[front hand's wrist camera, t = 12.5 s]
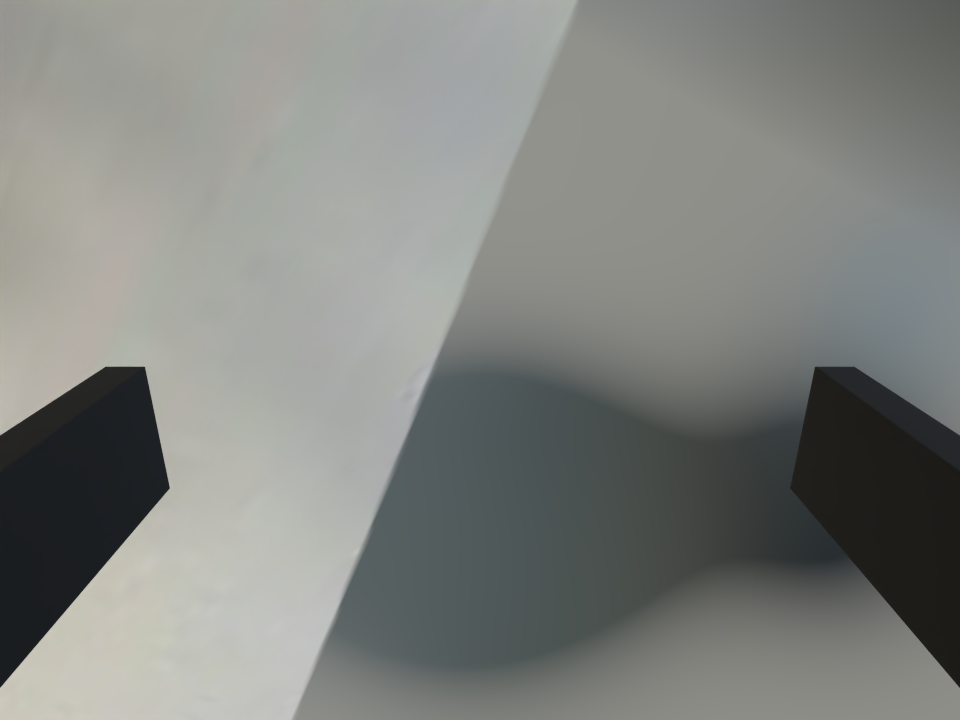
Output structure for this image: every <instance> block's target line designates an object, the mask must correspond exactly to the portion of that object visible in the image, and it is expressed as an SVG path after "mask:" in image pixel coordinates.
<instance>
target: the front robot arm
mask: <svg viewBox="0 0 960 720" xmlns="http://www.w3.org/2000/svg"><path fill="white" fill-rule="evenodd" d="M169 488H170V487H169V482H168V477H167V473H166V468H165V463H164V458H163V453H162V448H161V443H160V438H159V434H158V429H157V424H156V419H155V414H154V409H153V404H152V399H151V394H150V390H149V385H148V380H147V375H146V370H145V367H105V368H103V369H102V370H100V371H99V372H97V373H95V374H94V375H92V376H91V377H89V378H88V379H86V380H85V381H83V382H82V383H80V384H79V385H77V386H76V387H74V388H72V389H71V390H69V391H68V392H66V393H65V394H63V395H62V396H60V397H59V398H57V399H56V400H54V401H53V402H51V403H49V404H48V405H46V406H45V407H43V408H42V409H40V410H39V411H37V412H36V413H34V414H33V415H31V416H29V417H28V418H26V419H25V420H23V421H22V422H20V423H19V424H17V425H16V426H14V427H13V428H11V429H10V430H8V431H6V432H5V433H3V434H2V435H0V687H1V686H2V685H3V684H4V683H5V681H6V680H7V679H8V678H9V677H10V676H11V674H12V673H13V672H14V671H15V670H16V668H17V667H18V666H19V665H20V664H21V663H22V661H23V660H24V659H25V658H26V657H27V656H28V654H29V653H30V652H31V651H32V650H33V648H34V647H35V646H36V645H37V644H38V643H39V641H40V640H41V639H42V638H43V637H44V636H45V634H46V633H47V632H48V631H49V630H50V628H51V627H52V626H53V625H54V624H55V623H56V621H57V620H58V619H59V618H60V617H61V616H62V614H63V613H64V612H65V611H66V610H67V608H68V607H69V606H70V605H71V604H72V603H73V601H74V600H75V599H76V598H77V597H78V596H79V594H80V593H81V592H82V591H83V590H84V588H85V587H86V586H87V585H88V584H89V583H90V581H91V580H92V579H93V578H94V577H95V576H96V574H97V573H98V572H99V571H100V570H101V568H102V567H103V566H104V565H105V564H106V563H107V561H108V560H109V559H110V558H111V557H112V556H113V554H114V553H115V552H116V551H117V550H118V548H119V547H120V546H121V545H122V544H123V543H124V541H125V540H126V539H127V538H128V537H129V536H130V534H131V533H132V532H133V531H134V530H135V528H136V527H137V526H138V525H139V524H140V523H141V521H142V520H143V519H144V518H145V517H146V516H147V514H148V513H149V512H150V511H151V510H152V508H153V507H154V506H155V505H156V504H157V503H158V501H159V500H160V499H161V498H162V497H163V495H164V494H165V493H166V492H167V491H168V490H169ZM790 488H791V490H792V491H793V492H794V493H795V494H796V495H797V497H798V498H799V499H800V500H801V501H802V503H803V504H804V505H805V506H806V507H807V508H808V510H809V511H810V512H811V513H812V514H813V515H814V517H815V518H816V519H817V520H818V521H819V523H820V524H821V525H822V526H823V527H824V528H825V530H826V531H827V532H828V533H829V534H830V535H831V537H832V538H833V539H834V540H835V541H836V542H837V544H838V545H839V546H840V547H841V548H842V550H843V551H844V552H845V553H846V554H847V556H848V557H849V558H850V559H851V560H852V561H853V563H854V564H855V565H856V566H857V567H858V568H859V570H860V571H861V572H862V573H863V574H864V575H865V577H866V578H867V579H868V580H869V581H870V583H871V584H872V585H873V586H874V587H875V588H876V590H877V591H878V592H879V593H880V594H881V595H882V597H883V598H884V599H885V600H886V601H887V603H888V604H889V605H890V606H891V607H892V608H893V610H894V611H895V612H896V613H897V614H898V616H899V617H900V618H901V619H902V620H903V621H904V623H905V624H906V625H907V626H908V627H909V628H910V630H911V631H912V632H913V633H914V634H915V635H916V637H917V638H918V639H919V640H920V641H921V643H922V644H923V645H924V646H925V647H926V648H927V650H928V651H929V652H930V653H931V654H932V655H933V657H934V658H935V659H936V660H937V661H938V663H939V664H940V665H941V666H942V667H943V668H944V670H945V671H946V672H947V673H948V674H949V676H950V677H951V678H952V679H953V680H954V681H955V683H956V684H957V685H958V686H959V687H960V435H958V434H957V433H955V432H954V431H952V430H950V429H949V428H947V427H946V426H944V425H943V424H941V423H940V422H938V421H937V420H935V419H934V418H932V417H931V416H929V415H927V414H926V413H924V412H923V411H921V410H920V409H918V408H917V407H915V406H914V405H912V404H911V403H909V402H907V401H906V400H904V399H903V398H901V397H900V396H898V395H897V394H895V393H894V392H892V391H891V390H889V389H887V388H886V387H884V386H883V385H881V384H880V383H878V382H877V381H875V380H874V379H872V378H871V377H869V376H868V375H866V374H864V373H863V372H861V371H860V370H858V369H857V368H855V367H815V370H814V375H813V380H812V385H811V390H810V394H809V399H808V404H807V409H806V414H805V419H804V424H803V429H802V434H801V438H800V443H799V448H798V453H797V458H796V463H795V468H794V473H793V477H792V482H791V487H790Z"/></svg>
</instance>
